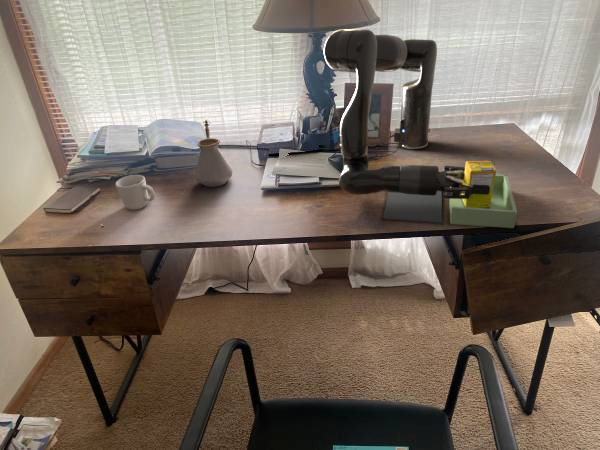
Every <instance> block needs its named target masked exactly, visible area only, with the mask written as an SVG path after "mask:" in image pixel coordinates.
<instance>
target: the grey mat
mask: <svg viewBox="0 0 600 450" xmlns="http://www.w3.org/2000/svg"><path fill="white" fill-rule="evenodd" d="M442 203H443V192H442V191H437V193H436V195H435V196H430V195H412V194H404V193H392V192H387V197H386V203H385V207H384V212H383V217H382V220H383V221H396V222H397V221H399V222H413V223H426V224H443V204H442Z"/></svg>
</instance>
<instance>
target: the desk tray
mask: <svg viewBox="0 0 600 450" xmlns="http://www.w3.org/2000/svg"><path fill="white" fill-rule="evenodd" d="M463 178H464V177H463ZM460 195H462V194H460ZM517 215H518V210H517V206H516V202H515V199H514V195H513V192H512V189H511V185H510V182H509V178H508V175H507V174H498V173H496V175H495V181H494V187H493V193H492V199H491V205H490V209H486V208H469V207H464V205H463V203H462V201H461V199H449V220H450V224H451V225H459V226H476V227H491V228H503V229H515V227H516V226H515V225H516V220H517Z"/></svg>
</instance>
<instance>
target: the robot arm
mask: <svg viewBox="0 0 600 450" xmlns="http://www.w3.org/2000/svg"><path fill="white" fill-rule="evenodd" d="M323 56H324V59H325V62H326V64H327V65H328V67H329V68H330V69H332V70H333V71H336V72H340V73H356V85H355V86H356V88H355V91H354V93H353V95H352V98H351V100H350V101H349V103H348V106H347V107H346V109H345V111H344V113H343V114H342V117H341V120H340V124H339V141H340V142H339V147H340V148H341V149H340V152H341V156H343V157H342V159H343V160H342V161H343V167H342V171H341V173H340V176H339V179H338V183H339V184H338V185H339V187H340V189H341V190H342V191H343V192H345V193H346V194H349V195H354V196H363V195H371V194H377V193H388V192H392V193H404V194H412V195H430V196H435V195H436V193H437V191H442V193H443V199H448V200H450V199H469V198H470V195H472V194H485V195H488V194H489V191H490V186H489V185H474V184H473V185H472V184H468V183H465V181H464V178H463V177H464V172H465V166H455V165H444V166H443V171H439V166H437V165H418V164H417V165H416V164H406V165H396V164H395V165H394V164H393V165H390V164H383V165H380V166H379V167H378V168H376V169H370V163H369V154H368V148H376V147H378V146H380V145H376V144H372V145H371V144H370V145H369V117H370V107H371V102H372V96H373V89H374V82H375V75H376V72H379V73H391V72H396V71H398V70H401V71H405V72H411V73H413V72H414V73H419V77H418V78H416V79H414V80H410V81H408V82H405V83H404V84H403V85H402V88H401V105H400V106H401V107H400V108H401V109H400V120H399V128H394V132H393V134H391V135H389V136H390V138H393V143H398V148H402V149H406V150H421V149H425V148H427V147H428V145H429V134H430V131H431V129H430V118H431V110H432V109H431V107H432V96H433V94H432V93H433V87H434V81H435V72H436V65H437V57H438V46H437V42H436V41H435V40H433V39H417V38H415V39H414V38H411V39H402V38H401V37H399V36H396V35H391V34H375V33H374V32H373V31H372V30H370V29H358V28H357V29H355V28H354V29H346V28H345V29H337V30H335V31H333V32H332V33H331V34H330V35H329V36H328V37H327V39H326V41H325V43H324V47H323ZM390 138H389V139H390ZM257 146H258V145H255V144H254V145H253V144H252V145H251V144H219V145H218V148H233V147H234V148H254V149H255V148H257ZM257 149H258V148H257ZM465 187H467V188H465ZM460 194H465V195H460Z"/></svg>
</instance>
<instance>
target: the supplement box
mask: <svg viewBox="0 0 600 450" xmlns="http://www.w3.org/2000/svg"><path fill="white" fill-rule="evenodd" d="M464 167H465V172H464V181H465V183H468V184H472V185H473V184H474V185H489V186H490V191H489V194H488V195H485V194H472V195H470V198H469V199H461V201H462V203H463V205H464V207H469V208H486V209H490V205H491V199H492V193H493V187H494V181H495V175H496V174H497V169H496V168H495V166H494V164H493V163H492V161H491V160H469V161H468V160H466V161H465V165H464ZM465 188H467V187H465ZM462 195H465V194H462Z"/></svg>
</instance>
